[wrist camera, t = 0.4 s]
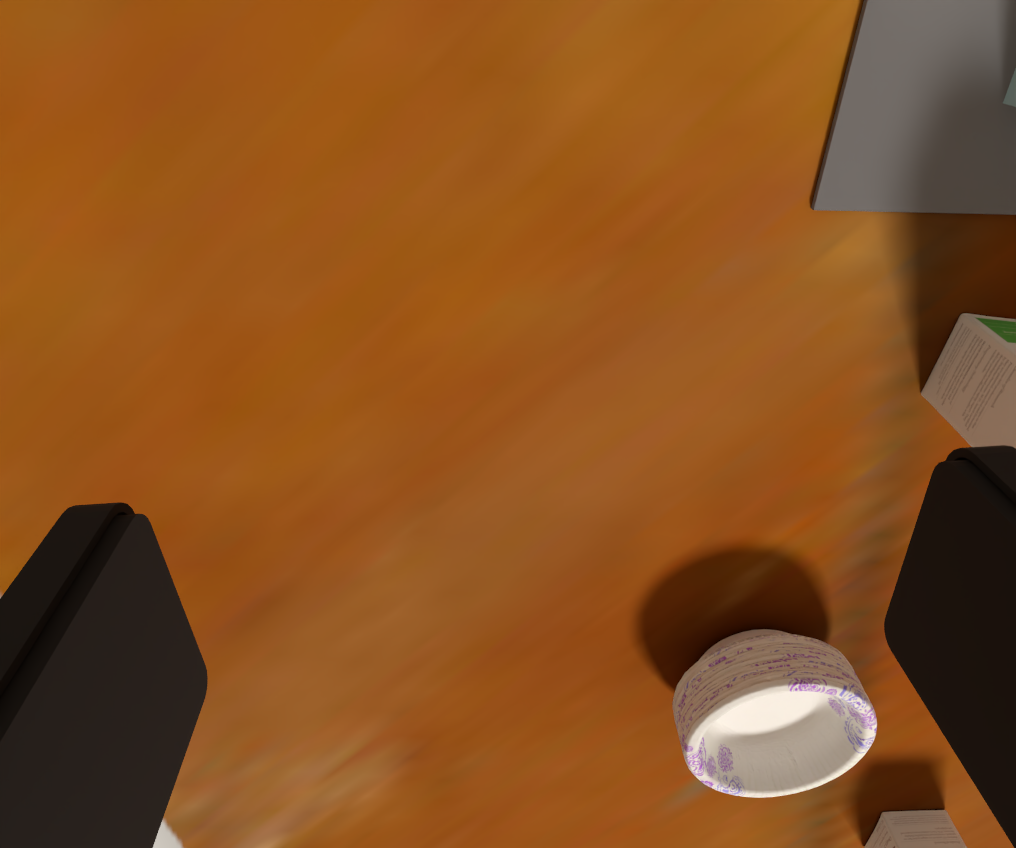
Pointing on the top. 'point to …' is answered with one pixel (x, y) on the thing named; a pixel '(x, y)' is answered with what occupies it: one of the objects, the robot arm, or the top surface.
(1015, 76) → the plain block
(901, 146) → the mat
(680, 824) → the top surface
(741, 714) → the paper bowls
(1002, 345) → the skincare box
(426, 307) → the top surface
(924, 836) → the supplement box
